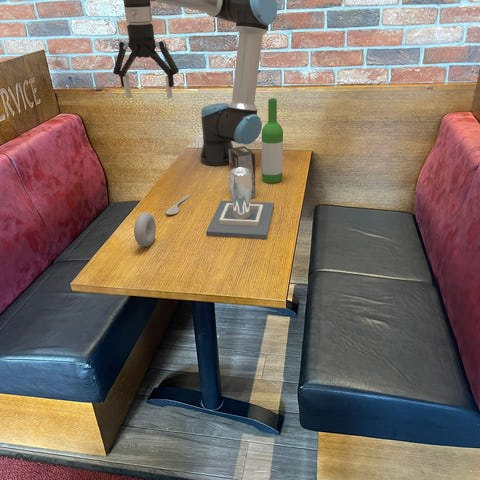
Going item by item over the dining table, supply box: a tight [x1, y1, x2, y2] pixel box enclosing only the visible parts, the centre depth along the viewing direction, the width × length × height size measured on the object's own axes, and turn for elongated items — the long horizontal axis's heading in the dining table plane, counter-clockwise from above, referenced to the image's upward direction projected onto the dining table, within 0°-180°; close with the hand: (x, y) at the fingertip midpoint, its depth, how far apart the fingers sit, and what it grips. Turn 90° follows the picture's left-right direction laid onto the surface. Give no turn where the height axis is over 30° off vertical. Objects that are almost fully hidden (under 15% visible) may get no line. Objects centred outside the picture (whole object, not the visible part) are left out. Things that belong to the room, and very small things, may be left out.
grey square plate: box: [205, 199, 275, 240], centre depth 142 cm, size 22×18×3 cm
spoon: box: [165, 194, 190, 215], centre depth 155 cm, size 4×21×2 cm, turn 165°
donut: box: [133, 211, 157, 248], centre depth 129 cm, size 10×3×10 cm, turn 167°
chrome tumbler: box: [228, 167, 252, 220], centre depth 139 cm, size 7×7×15 cm
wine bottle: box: [261, 98, 284, 184], centre depth 164 cm, size 8×8×30 cm
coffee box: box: [228, 145, 256, 199], centre depth 157 cm, size 9×6×16 cm
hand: (149, 97), depth 143 cm, fingers open, 13 cm apart
